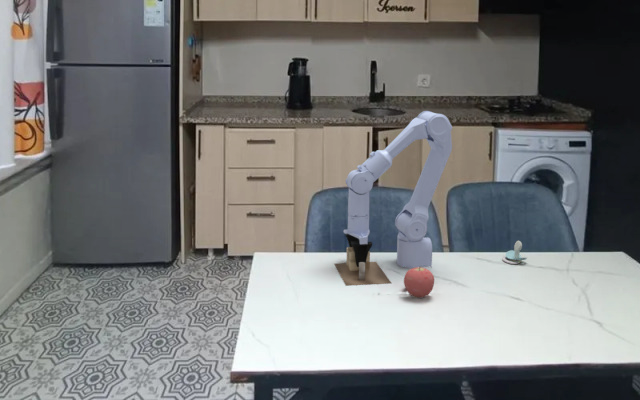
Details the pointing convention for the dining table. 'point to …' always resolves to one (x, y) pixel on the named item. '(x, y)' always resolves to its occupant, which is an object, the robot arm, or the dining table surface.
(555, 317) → the dining table surface
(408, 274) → the apple
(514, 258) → the pacifier
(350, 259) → the open-ended tan box
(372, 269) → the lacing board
